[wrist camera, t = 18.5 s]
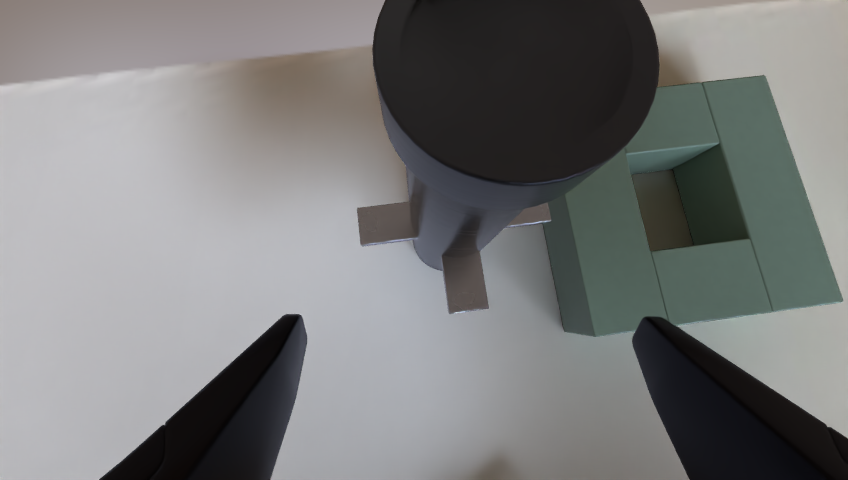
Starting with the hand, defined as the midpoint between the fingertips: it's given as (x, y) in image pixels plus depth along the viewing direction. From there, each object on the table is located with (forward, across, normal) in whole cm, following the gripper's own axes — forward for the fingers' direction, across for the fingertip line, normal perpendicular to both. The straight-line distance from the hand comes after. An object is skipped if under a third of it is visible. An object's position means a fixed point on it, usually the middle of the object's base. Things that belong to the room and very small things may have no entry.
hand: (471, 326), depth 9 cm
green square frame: (+9, -10, +2) cm, 13 cm away
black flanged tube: (+8, 0, +2) cm, 8 cm away
